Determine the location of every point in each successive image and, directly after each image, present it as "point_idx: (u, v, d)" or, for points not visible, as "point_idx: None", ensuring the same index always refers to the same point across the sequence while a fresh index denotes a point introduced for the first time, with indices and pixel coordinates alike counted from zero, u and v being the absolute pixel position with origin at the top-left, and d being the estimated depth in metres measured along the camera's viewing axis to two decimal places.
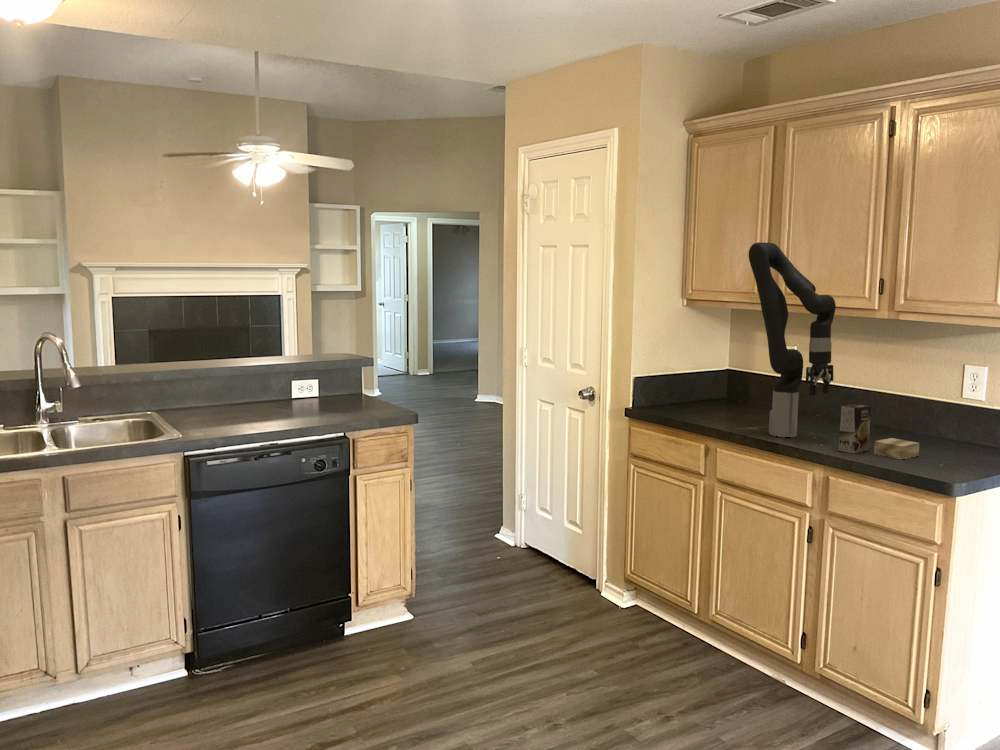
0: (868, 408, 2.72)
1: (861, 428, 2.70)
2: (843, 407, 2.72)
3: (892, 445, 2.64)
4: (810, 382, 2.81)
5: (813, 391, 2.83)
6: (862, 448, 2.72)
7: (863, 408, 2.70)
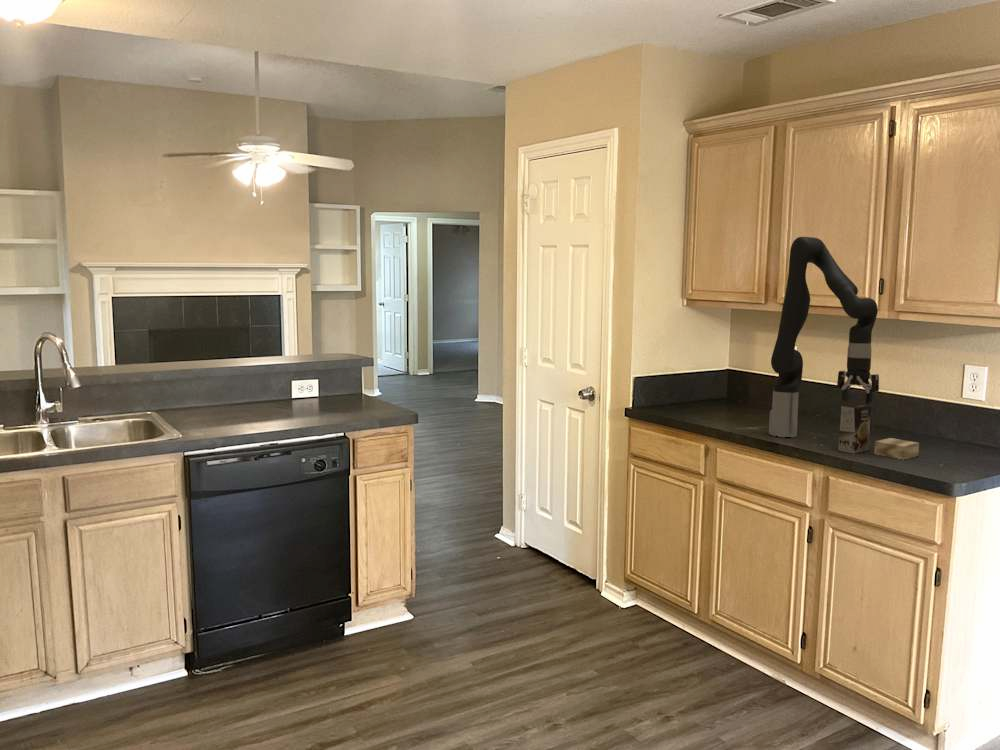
0: (868, 408, 2.72)
1: (861, 428, 2.70)
2: (843, 407, 2.72)
3: (893, 445, 2.64)
4: (877, 390, 2.67)
5: None
6: (862, 448, 2.72)
7: (863, 408, 2.70)
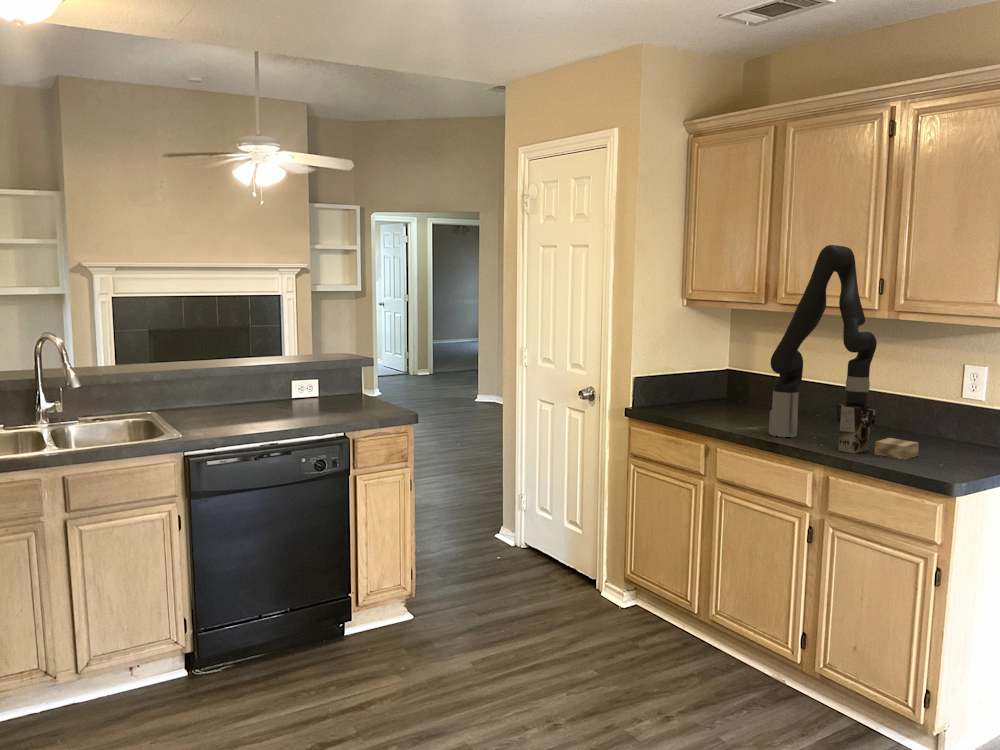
0: None
1: (861, 428, 2.70)
2: (843, 407, 2.72)
3: (894, 445, 2.64)
4: (873, 425, 2.69)
5: None
6: (862, 448, 2.72)
7: None
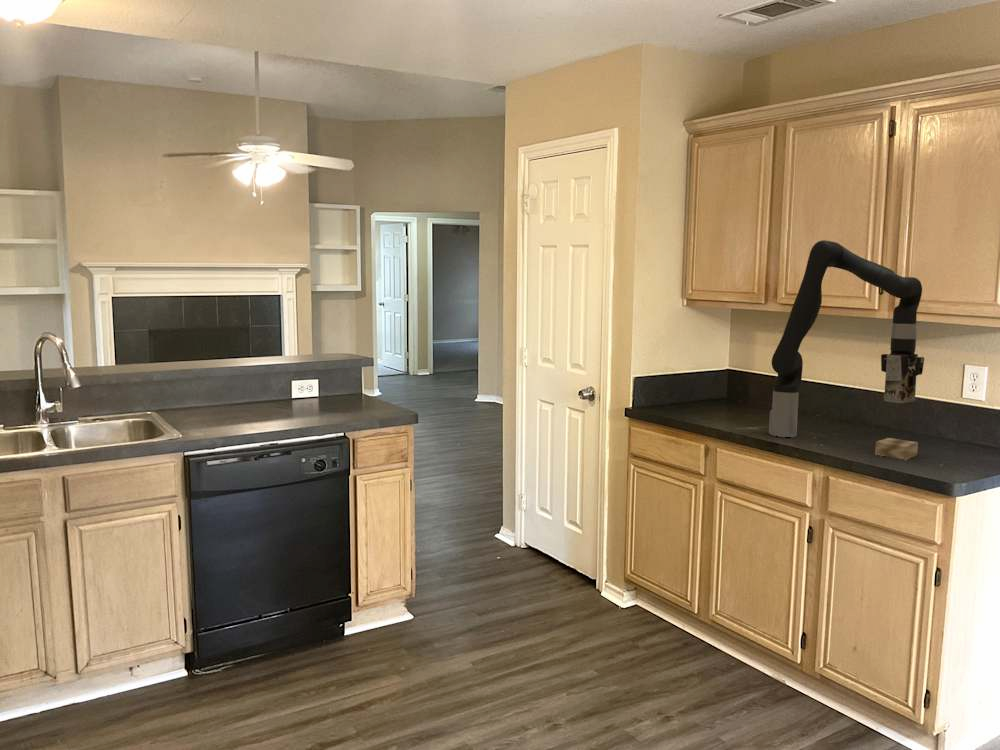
0: None
1: (908, 376, 2.61)
2: (889, 355, 2.63)
3: (895, 445, 2.63)
4: (921, 373, 2.60)
5: None
6: (909, 397, 2.63)
7: None
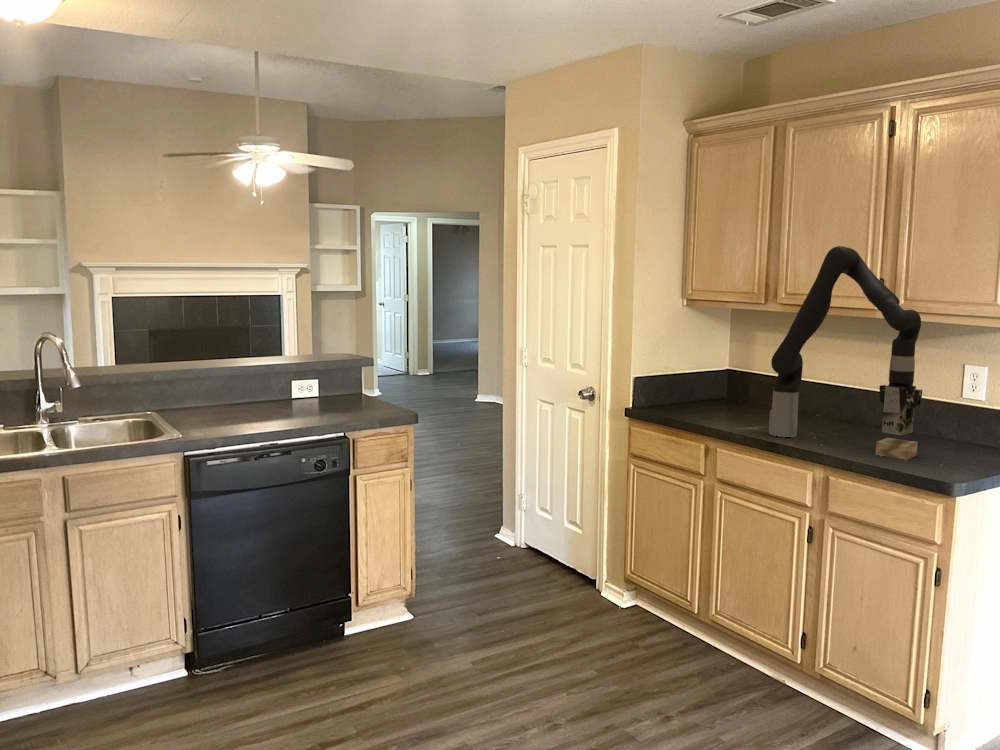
0: None
1: (906, 409, 2.63)
2: (887, 387, 2.65)
3: (896, 445, 2.63)
4: (919, 405, 2.61)
5: None
6: (907, 429, 2.65)
7: None
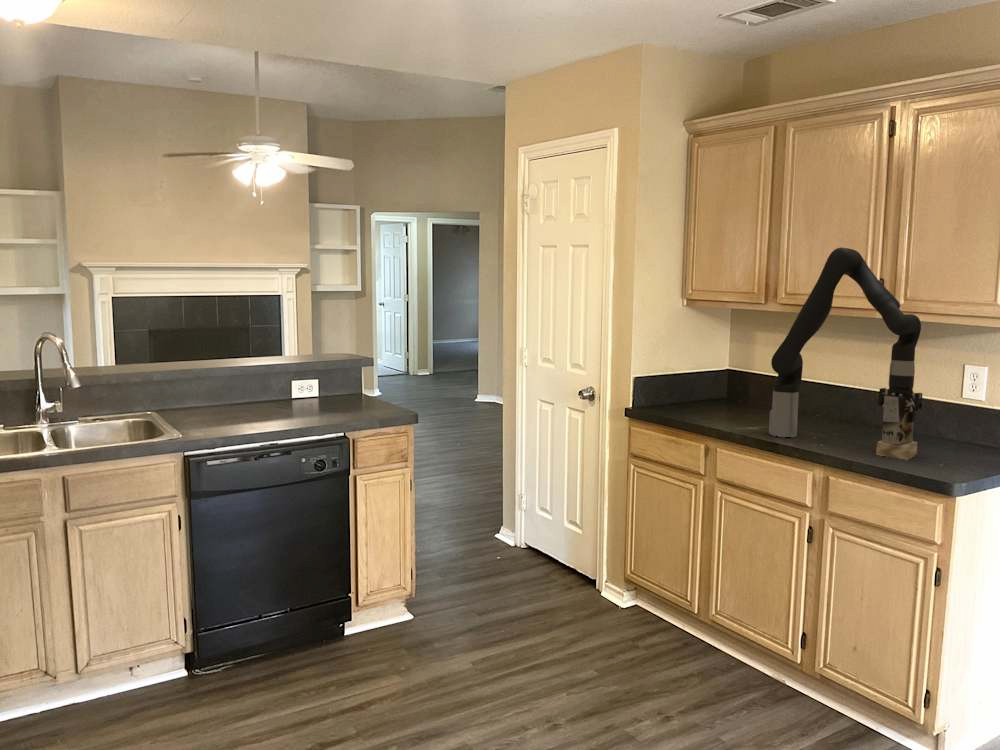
0: (912, 397, 2.65)
1: (905, 418, 2.63)
2: (886, 397, 2.65)
3: (897, 446, 2.63)
4: (920, 409, 2.61)
5: None
6: (906, 438, 2.65)
7: None
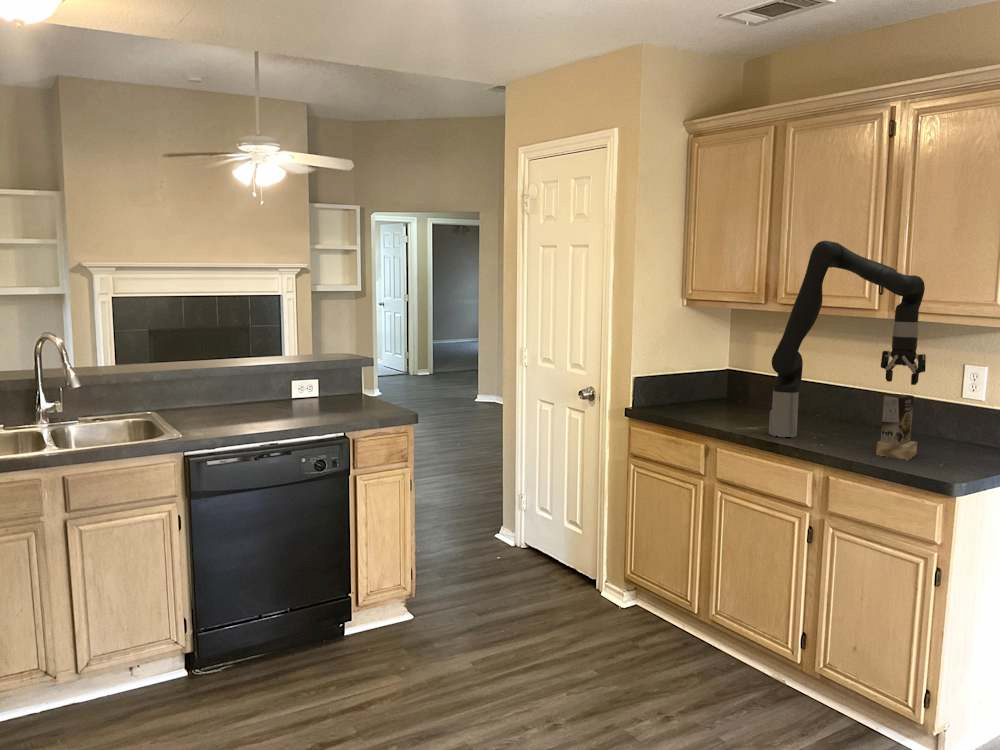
0: (911, 398, 2.65)
1: (905, 418, 2.64)
2: (886, 397, 2.65)
3: (897, 446, 2.63)
4: (924, 370, 2.59)
5: None
6: (905, 438, 2.66)
7: (907, 398, 2.63)
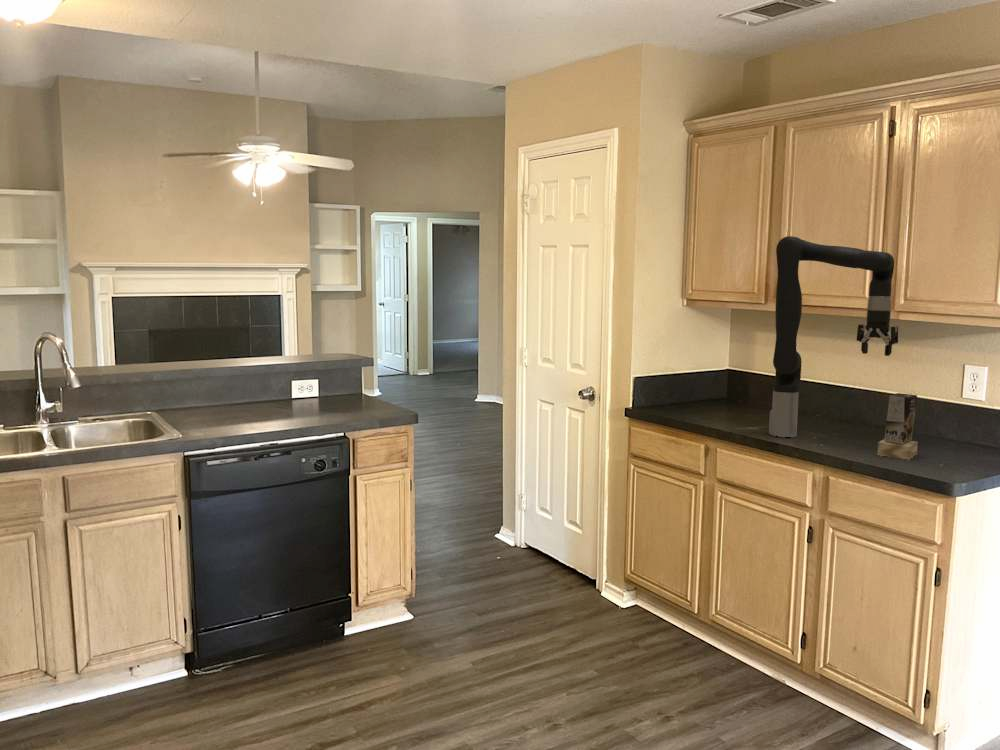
0: (915, 397, 2.66)
1: (909, 418, 2.64)
2: (892, 396, 2.64)
3: (898, 446, 2.63)
4: (896, 342, 2.73)
5: None
6: (908, 438, 2.66)
7: (912, 397, 2.63)
